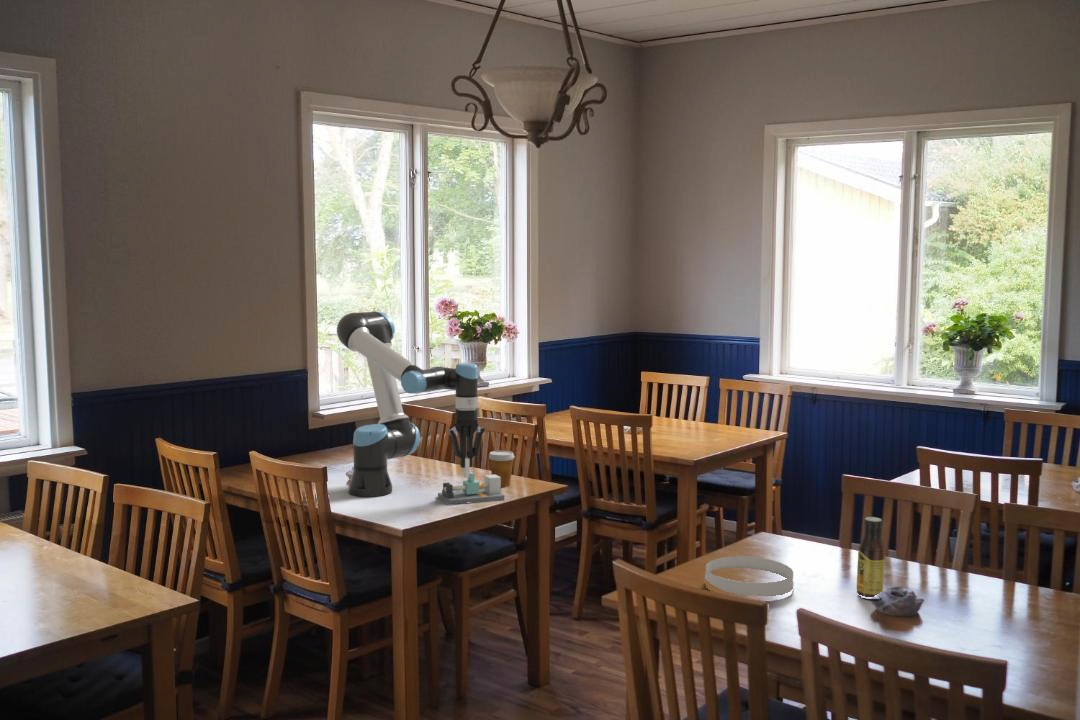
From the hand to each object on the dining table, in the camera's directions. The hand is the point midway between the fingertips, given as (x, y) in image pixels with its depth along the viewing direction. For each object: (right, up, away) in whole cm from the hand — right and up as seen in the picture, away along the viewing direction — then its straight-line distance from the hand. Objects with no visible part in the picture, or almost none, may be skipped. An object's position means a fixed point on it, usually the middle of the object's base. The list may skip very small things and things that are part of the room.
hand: (466, 476), depth 339 cm
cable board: (+2, -8, +1) cm, 8 cm away
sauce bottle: (+107, -19, -96) cm, 145 cm away
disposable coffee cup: (+11, -6, +22) cm, 26 cm away
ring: (+78, -18, -89) cm, 120 cm away
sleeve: (+2, -6, +1) cm, 6 cm away
